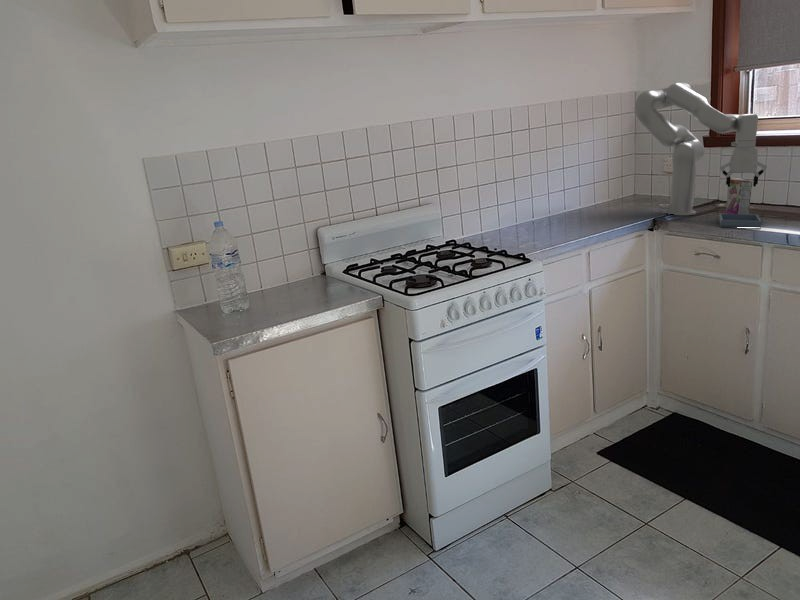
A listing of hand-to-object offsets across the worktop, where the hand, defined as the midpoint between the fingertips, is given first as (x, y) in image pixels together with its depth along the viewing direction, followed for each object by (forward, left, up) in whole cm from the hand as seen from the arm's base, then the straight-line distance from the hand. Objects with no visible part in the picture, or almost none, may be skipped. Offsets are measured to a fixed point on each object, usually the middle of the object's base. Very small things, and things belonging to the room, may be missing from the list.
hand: (741, 186), depth 270 cm
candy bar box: (-1, 0, -14) cm, 14 cm away
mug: (-23, +30, -14) cm, 40 cm away
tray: (-1, -16, -14) cm, 21 cm away
